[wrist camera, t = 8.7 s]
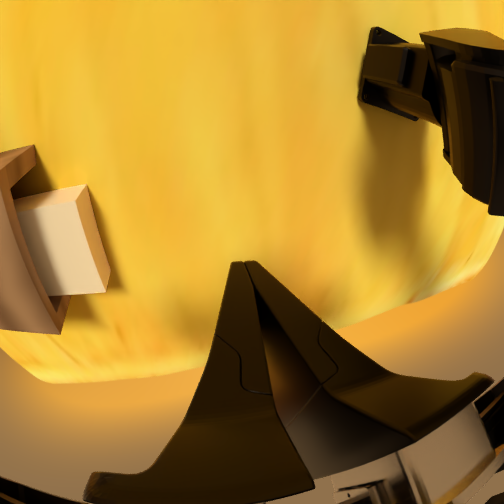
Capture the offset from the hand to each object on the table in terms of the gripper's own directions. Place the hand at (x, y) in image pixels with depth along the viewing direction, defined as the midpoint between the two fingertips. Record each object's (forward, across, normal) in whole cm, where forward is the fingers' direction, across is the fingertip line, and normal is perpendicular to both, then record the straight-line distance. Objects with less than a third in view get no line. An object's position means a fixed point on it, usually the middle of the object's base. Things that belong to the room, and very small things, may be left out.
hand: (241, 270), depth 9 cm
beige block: (+11, +14, +5) cm, 19 cm away
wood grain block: (+11, +18, +4) cm, 21 cm away
